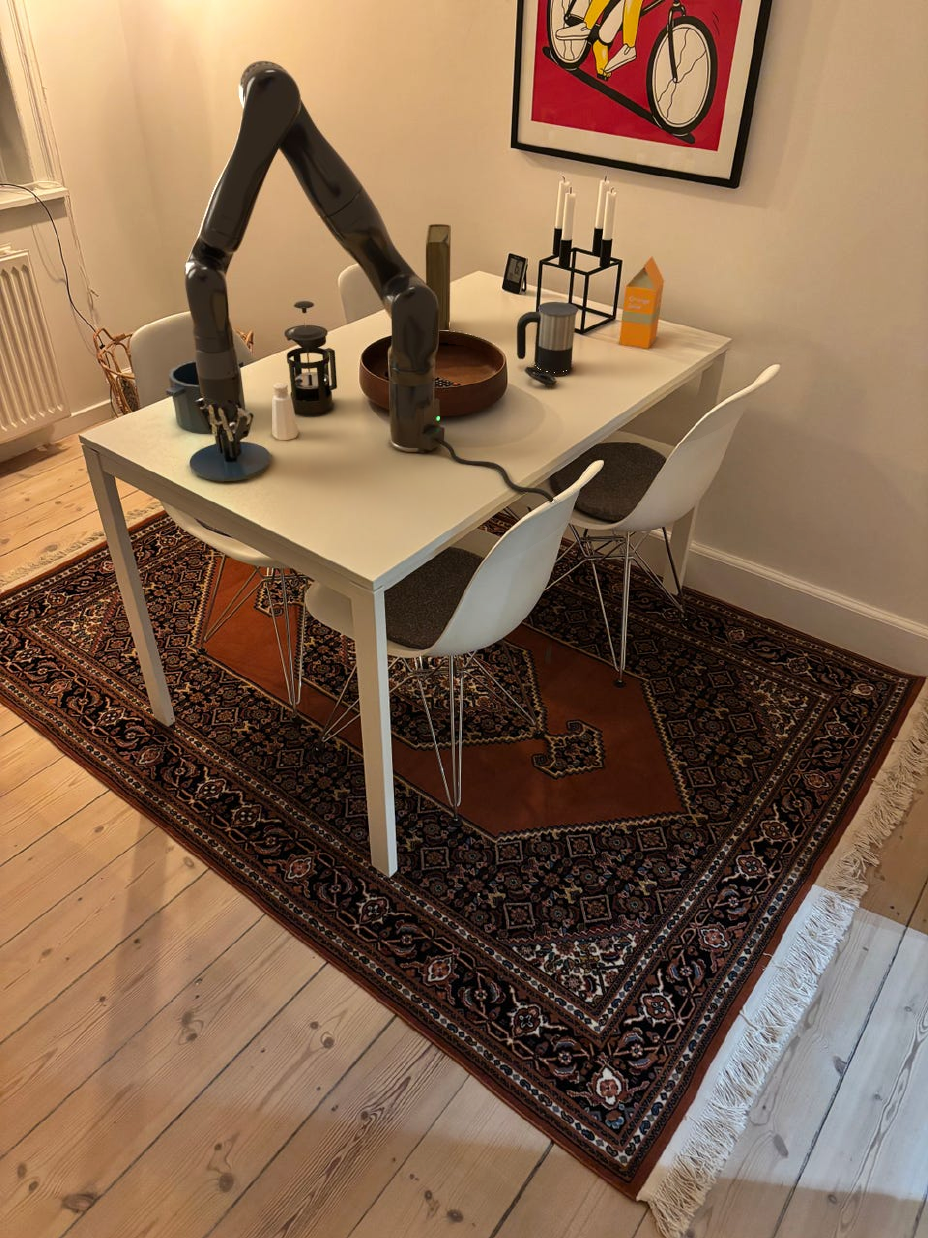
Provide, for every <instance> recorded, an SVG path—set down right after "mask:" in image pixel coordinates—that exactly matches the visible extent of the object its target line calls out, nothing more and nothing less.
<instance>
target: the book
mask: <svg viewBox="0 0 928 1238" xmlns="http://www.w3.org/2000/svg"><path fill="white" fill-rule="evenodd" d="M427 227H428V228H427V234H426V240H425V283H426V284H427V285H428V287H429V288H430V289H431V290H432V291H433V292H434V294H435V295H436V297H437V300H438V304H439V330H449V331H450V328H449V322H450V323H451V242H452V241H451V239H452V238H451V231H452V230H451V229H452V228H451V227H452V226H451V225H450V224H444V223H433V224H429V225H428V226H427Z"/></svg>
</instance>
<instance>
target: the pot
mask: <svg viewBox="0 0 928 1238" xmlns="http://www.w3.org/2000/svg"><path fill="white" fill-rule="evenodd" d="M238 367H239V375H240V383H241V393H240V396H239V400H240V403H241V405H242V409H243V410H244V411H245V412H246V413H247V409H246V402H245V393H244V386H243V379H242V378H243V377H242V370H241V369H242V368H243V367H244V362H243V361H241V360H238ZM168 379H169V384H170V388H168V389H166V390H165V392H166V395H167V396H169V397H172V401H173V408H174V413H175V418H176V423H177V424H178V426H179V427H180V428H181V429H183V430H185V431H187V432H189V433H190V432H191V433H194V434H195V433H196V434H213V433H212V431H211V430H209V431H208V430H206V428H205V426H204V424H203V422H202V420H201V418H200V415H199V413H198V411H197V409H196V407H195V405H194V402H195V401H197V400H199V399H202V398H204V397H203V396H202V395H201V393H200V386H199V380H198V373H197V367H196V360H195V359H194V360H191V361H187V362H183V363H181V364H179V365H176V366H175V367H173V368H172V369H171V370H170V371H169V376H168ZM207 419H208V421H209V423H210V418H209V416H208V417H207ZM231 423H232V422H231ZM229 424H230V423H229Z"/></svg>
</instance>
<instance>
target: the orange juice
mask: <svg viewBox="0 0 928 1238" xmlns="http://www.w3.org/2000/svg"><path fill="white" fill-rule="evenodd" d="M664 283H665V280H664V277H663V276H662V273H661V272H660V269H659V267H658V265H657V263H656V261H655V259H654V257H653V256H651V257H650V258H649V259H648V260H646V262H645V264H644V265H643V267H642V268H641V269H639V272H638V273H636V275H635V276H633V278H632V279H631V280H630V281H629V282H628V283H627V284H626V285H625V291H624V299H623V307H622V312H621V313H622V314H621V325H620V333H619V342H618V345H622V346H629V347H633V348H634V347H635V348H641V349H649V348H650V347H651V345H652V344H653V342H654V341H655V340H656V338H657V333H658V327H659V320H660V313H661V305H662V298H663V291H664Z"/></svg>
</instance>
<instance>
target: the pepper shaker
mask: <svg viewBox="0 0 928 1238" xmlns="http://www.w3.org/2000/svg"><path fill="white" fill-rule="evenodd" d="M272 387H273V389H274V390H273V391H274V395H273V396H272V399H271V404H272V405H271V406H272V407H271V408H272V409H271V410H272V411H271V412H272V413H271V414H272V422H271V426H272V429H271V433H272V434H271V435H272V436H273V438H275V439H276V440H279V441H289V440H292V439H293V440H294V439H296V438H297V437H298V435H299V427H298V422H297V418H296V414H295V413H294V408H293V403H292V399H291V396H290V394H289V390H288V387H289V386H288V384H287V383H286V382H277V383H274V384H273V386H272Z"/></svg>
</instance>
